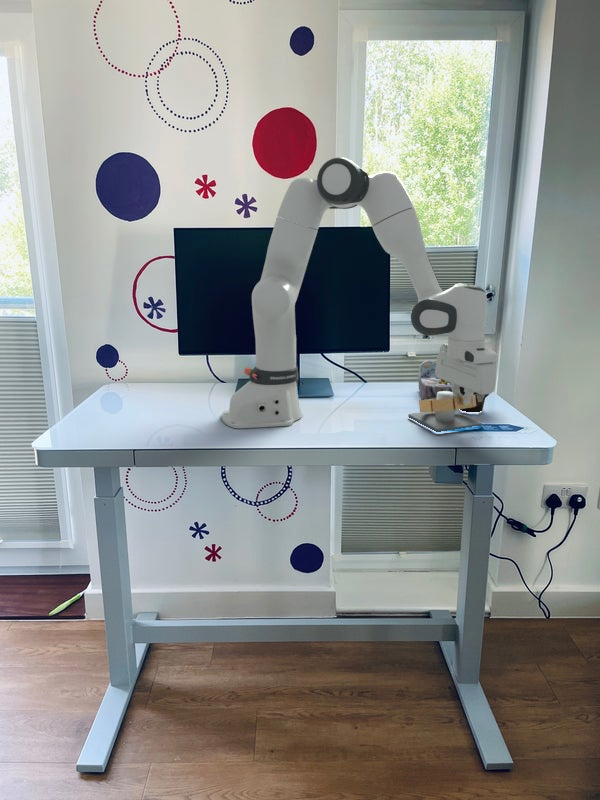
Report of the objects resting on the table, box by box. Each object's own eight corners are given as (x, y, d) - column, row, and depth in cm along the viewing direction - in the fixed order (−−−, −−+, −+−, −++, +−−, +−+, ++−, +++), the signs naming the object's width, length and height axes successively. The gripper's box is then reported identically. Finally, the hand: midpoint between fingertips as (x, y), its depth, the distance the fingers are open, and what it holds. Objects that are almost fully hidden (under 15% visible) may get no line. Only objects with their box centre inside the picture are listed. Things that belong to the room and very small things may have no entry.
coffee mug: (459, 416, 164) (462, 381, 161) (451, 406, 173) (454, 374, 170) (500, 416, 164) (504, 381, 161) (491, 407, 172) (494, 374, 170)
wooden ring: (441, 411, 147) (439, 399, 147) (411, 412, 160) (410, 401, 160) (486, 405, 152) (485, 393, 152) (454, 406, 165) (453, 395, 165)
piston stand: (437, 435, 149) (439, 403, 147) (408, 419, 162) (409, 389, 159) (482, 428, 154) (485, 397, 152) (450, 413, 166) (452, 384, 164)
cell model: (449, 357, 188) (472, 373, 170) (446, 388, 192) (469, 408, 173) (409, 357, 187) (429, 374, 168) (407, 389, 190) (426, 409, 172)
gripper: (431, 343, 154) (428, 393, 158) (480, 358, 136) (476, 414, 140) (451, 341, 156) (447, 390, 160) (502, 356, 138) (497, 411, 142)
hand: (461, 402), depth 150 cm, fingers closed on wooden ring, 2 cm apart
